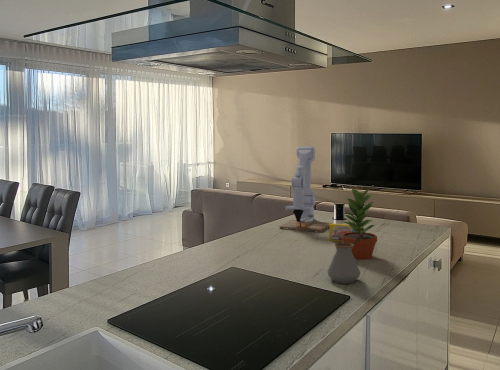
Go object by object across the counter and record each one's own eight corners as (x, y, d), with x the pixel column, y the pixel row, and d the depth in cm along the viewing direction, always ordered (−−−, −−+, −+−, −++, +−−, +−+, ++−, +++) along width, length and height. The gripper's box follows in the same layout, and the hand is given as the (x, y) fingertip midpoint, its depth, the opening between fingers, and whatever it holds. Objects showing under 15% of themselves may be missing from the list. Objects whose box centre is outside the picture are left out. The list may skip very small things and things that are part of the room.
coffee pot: (350, 287, 153) (350, 244, 151) (321, 280, 160) (321, 239, 159) (378, 272, 169) (378, 233, 167) (350, 266, 176) (351, 229, 175)
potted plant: (338, 251, 199) (339, 183, 195) (374, 251, 197) (375, 183, 194) (341, 261, 184) (342, 188, 181) (380, 261, 182) (381, 187, 179)
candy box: (328, 241, 219) (328, 224, 218) (329, 240, 221) (329, 223, 220) (363, 242, 214) (363, 225, 213) (363, 241, 216) (363, 224, 215)
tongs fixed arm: (308, 221, 260) (308, 214, 259) (315, 221, 258) (315, 214, 257) (297, 226, 244) (297, 219, 244) (304, 227, 243) (304, 220, 242)
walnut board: (292, 222, 265) (292, 219, 265) (332, 225, 254) (332, 222, 254) (279, 228, 248) (279, 225, 248) (321, 232, 237) (321, 229, 237)
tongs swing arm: (305, 222, 256) (305, 217, 256) (308, 222, 255) (308, 217, 255) (296, 226, 245) (296, 221, 244) (299, 226, 244) (299, 222, 244)
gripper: (283, 199, 247) (283, 223, 249) (308, 200, 240) (308, 225, 242) (288, 197, 253) (288, 221, 255) (312, 198, 247) (312, 223, 248)
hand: (298, 223), depth 249 cm, fingers closed
